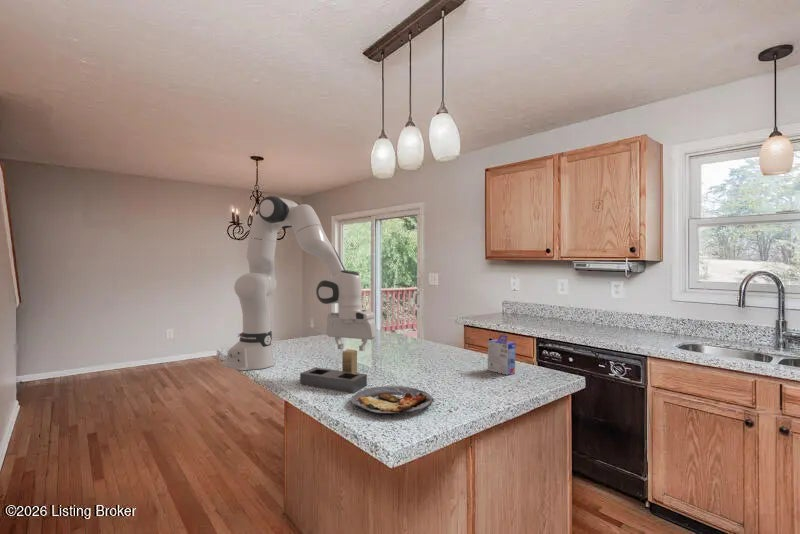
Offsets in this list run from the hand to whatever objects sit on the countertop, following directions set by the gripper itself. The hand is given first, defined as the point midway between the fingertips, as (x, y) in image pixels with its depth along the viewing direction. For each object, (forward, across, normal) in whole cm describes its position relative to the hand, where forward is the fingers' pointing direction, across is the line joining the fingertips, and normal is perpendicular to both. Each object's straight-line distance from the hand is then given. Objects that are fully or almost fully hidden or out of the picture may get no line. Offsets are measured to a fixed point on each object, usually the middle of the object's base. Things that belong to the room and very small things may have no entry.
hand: (351, 349), depth 153 cm
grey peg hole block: (+10, -1, -11) cm, 15 cm away
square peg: (+10, -1, 0) cm, 10 cm away
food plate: (+11, +26, -19) cm, 35 cm away
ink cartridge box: (+12, +50, +32) cm, 61 cm away
